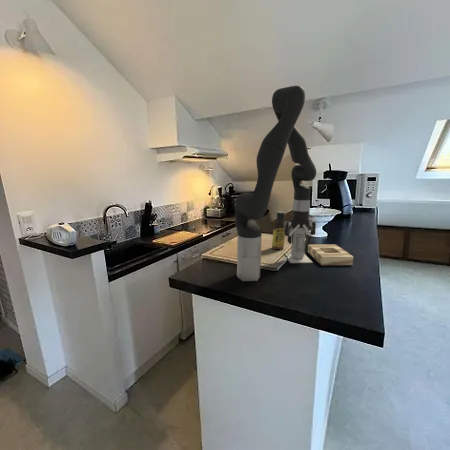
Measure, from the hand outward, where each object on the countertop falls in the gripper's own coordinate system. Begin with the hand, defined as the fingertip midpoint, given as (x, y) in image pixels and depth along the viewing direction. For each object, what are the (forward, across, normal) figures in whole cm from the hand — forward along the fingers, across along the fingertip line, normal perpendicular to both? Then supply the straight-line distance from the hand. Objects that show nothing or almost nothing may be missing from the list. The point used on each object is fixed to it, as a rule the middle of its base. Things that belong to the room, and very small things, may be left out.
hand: (298, 243), depth 122 cm
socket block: (+8, +15, 0) cm, 17 cm away
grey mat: (+8, 0, 0) cm, 8 cm away
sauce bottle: (+8, -6, +15) cm, 18 cm away
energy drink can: (+7, 0, 0) cm, 7 cm away
